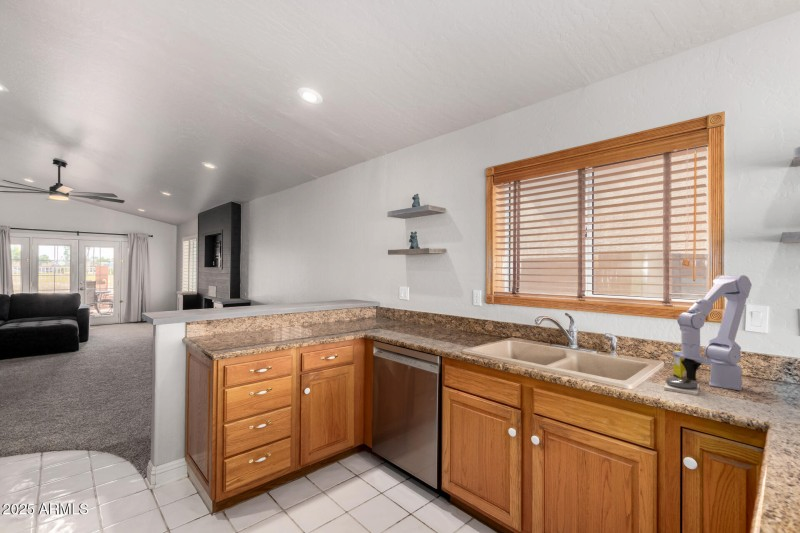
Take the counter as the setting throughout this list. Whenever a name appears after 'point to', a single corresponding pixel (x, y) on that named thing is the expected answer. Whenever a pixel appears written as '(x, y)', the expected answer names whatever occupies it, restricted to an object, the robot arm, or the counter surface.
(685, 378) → the crank wheel
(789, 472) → the counter surface
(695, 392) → the base board
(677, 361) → the supplement box
